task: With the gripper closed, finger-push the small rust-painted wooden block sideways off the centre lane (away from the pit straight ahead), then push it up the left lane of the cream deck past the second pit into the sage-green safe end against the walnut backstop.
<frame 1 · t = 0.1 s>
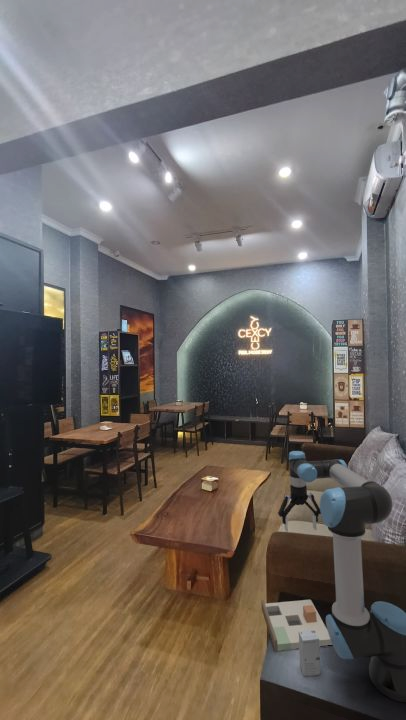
hand: (300, 529, 163), 28 cm above the table, fingers open, 13 cm apart
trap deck: (294, 626, 140), on the table
block: (309, 618, 140), point 2 cm above the table, touching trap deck
skincare box: (310, 670, 120), on the table
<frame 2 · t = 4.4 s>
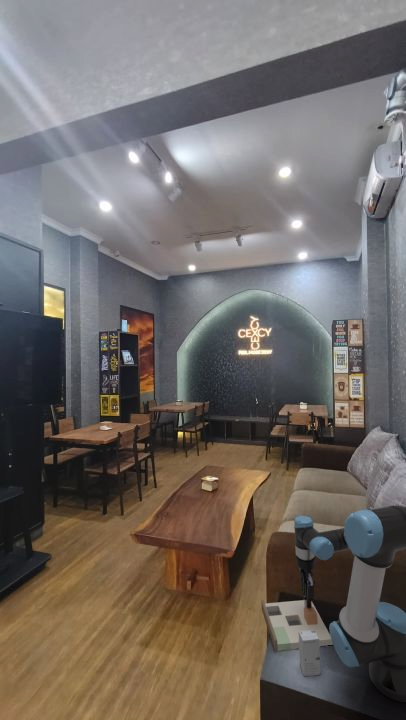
hand: (308, 613, 142), 4 cm above the table, fingers closed
block: (310, 620, 139), point 3 cm above the table, touching gripper
everything else where it was.
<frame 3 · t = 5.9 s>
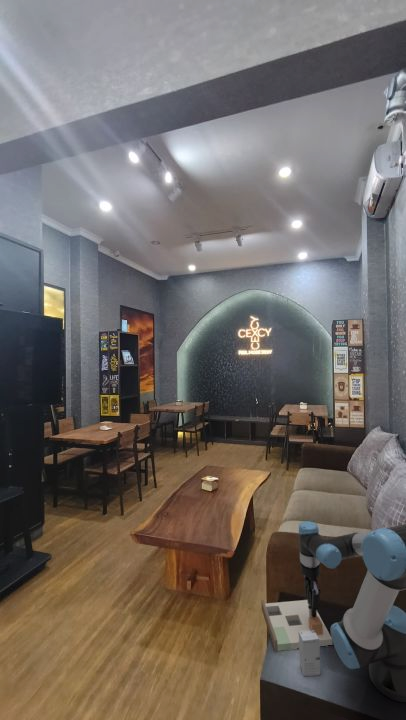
hand: (313, 622, 137), 4 cm above the table, fingers closed
block: (315, 630, 134), point 3 cm above the table, touching gripper, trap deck
everything else where it was.
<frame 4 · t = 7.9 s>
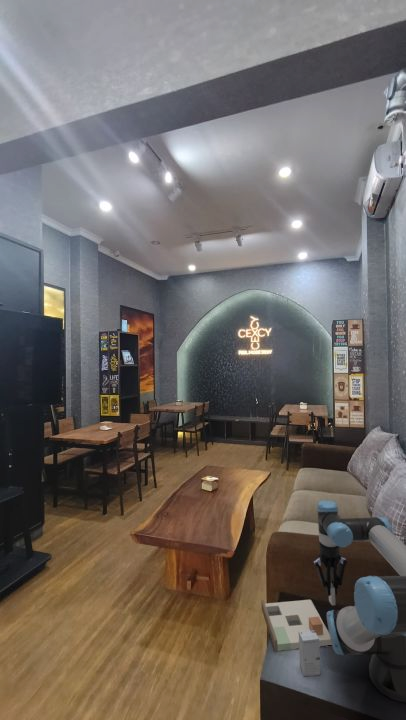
hand: (332, 602, 135), 13 cm above the table, fingers closed
block: (316, 631, 134), point 2 cm above the table, touching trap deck
everything else where it was.
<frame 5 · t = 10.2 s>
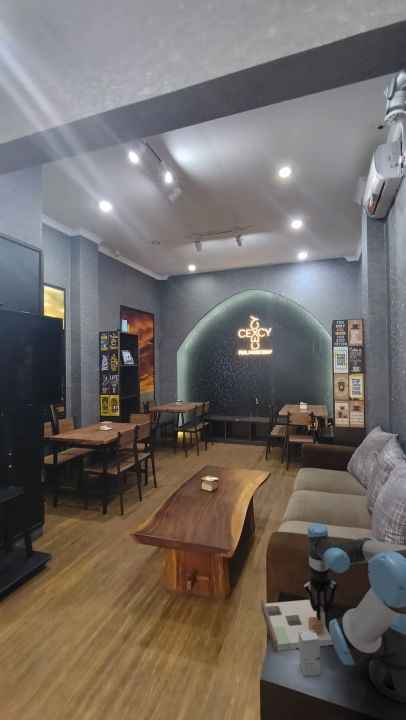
hand: (322, 626, 134), 4 cm above the table, fingers closed
block: (315, 631, 134), point 3 cm above the table, touching gripper
everything else where it was.
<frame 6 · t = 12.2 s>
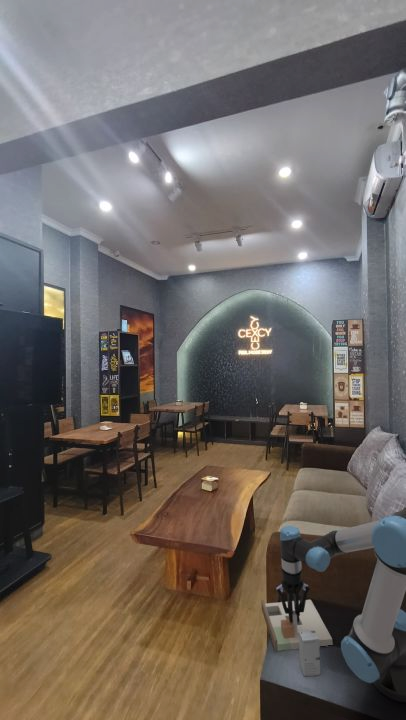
hand: (294, 629, 133), 4 cm above the table, fingers closed
block: (287, 633, 133), point 3 cm above the table, touching gripper, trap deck
everything else where it was.
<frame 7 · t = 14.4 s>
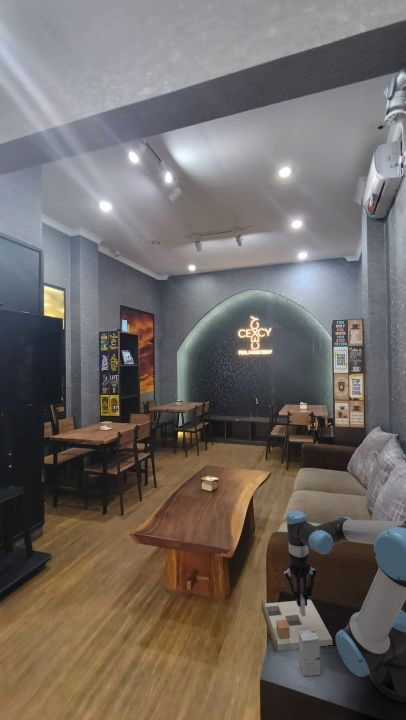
hand: (302, 613, 135), 9 cm above the table, fingers closed
block: (283, 634, 133), point 2 cm above the table, touching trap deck
everything else where it was.
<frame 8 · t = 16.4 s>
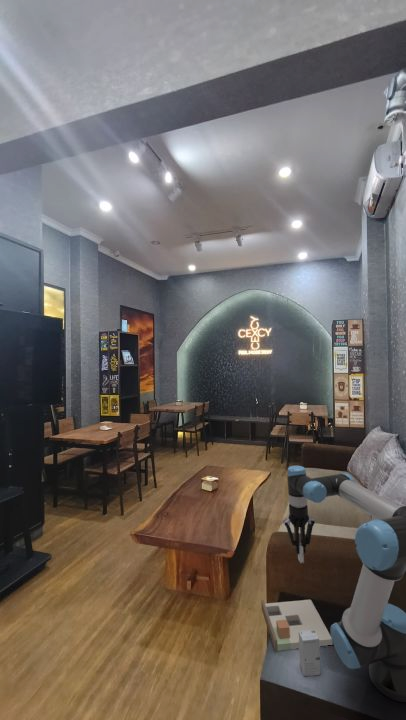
hand: (301, 560, 144), 24 cm above the table, fingers closed
nothing on the table moved.
at the end: block inside the target area on the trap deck (0.5 cm from its centre), point 2.5 cm above the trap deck's base; block tilted 0°; the gripper is holding nothing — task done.
